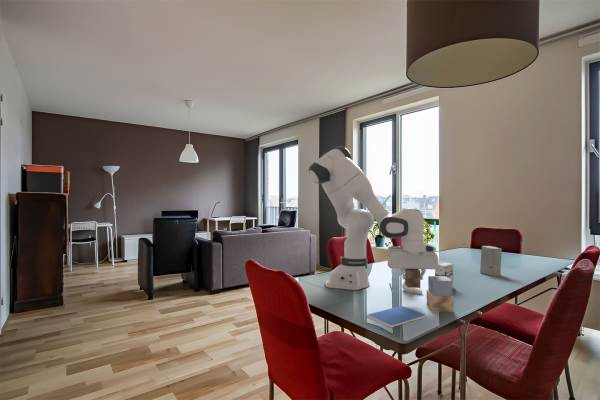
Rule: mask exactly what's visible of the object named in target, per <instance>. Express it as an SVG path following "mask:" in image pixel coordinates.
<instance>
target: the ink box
mask: <svg viewBox="0 0 600 400" xmlns="http://www.w3.org/2000/svg"><path fill="white" fill-rule="evenodd" d="M434 276H446V277H448V278H449V279H450V280H452V288H454V263H449V262H446V261H444V262H439V267H438V268H437V269H434Z"/></svg>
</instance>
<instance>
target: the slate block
mask: <svg viewBox="0 0 600 400" xmlns="http://www.w3.org/2000/svg"><path fill="white" fill-rule="evenodd" d="M427 277H428V280H427V282H428V283H427V285H428V289H427V290H428V291H429V292H430V293H431V294H432V295H433V296H453V287H452V280H450V279H449V278H448V277H446V276H435V275H428V276H427Z"/></svg>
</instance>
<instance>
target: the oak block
mask: <svg viewBox="0 0 600 400" xmlns="http://www.w3.org/2000/svg"><path fill="white" fill-rule="evenodd" d="M426 306H427V307H428V309H429V310H430V311H431V312H440V313H441V312H442V313H443V312H445V313H454V311H455V310H454V309H455V308H454V296H453V295H452V296H433V295H432V294H431V293H430V292H429V291H428V289H426Z"/></svg>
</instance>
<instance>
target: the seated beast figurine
mask: <svg viewBox="0 0 600 400" xmlns="http://www.w3.org/2000/svg"><path fill="white" fill-rule="evenodd" d="M402 290H403V291H405V292H406V293H411V294H416V295H423V290H422V289H421V287H420V288H414V287H407V286H406V285H405V281H403V283H402Z"/></svg>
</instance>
